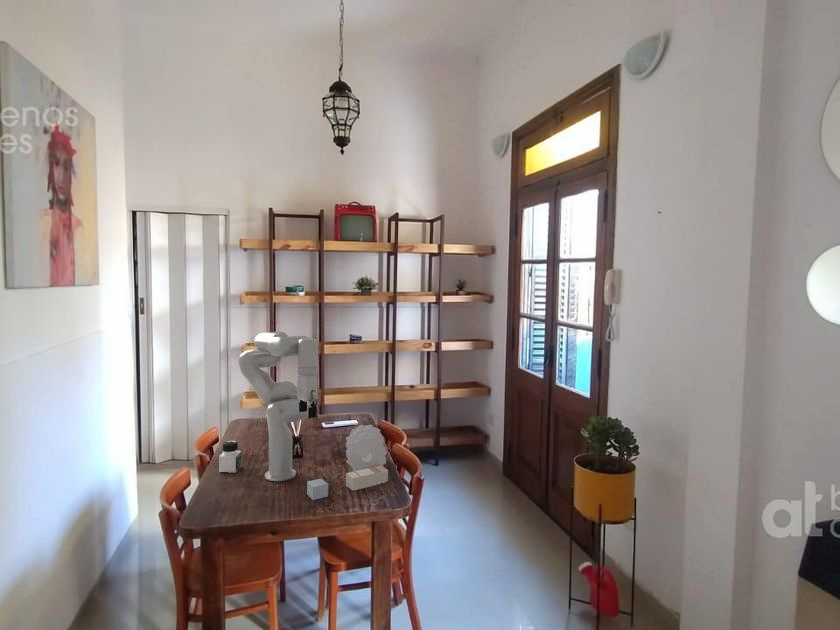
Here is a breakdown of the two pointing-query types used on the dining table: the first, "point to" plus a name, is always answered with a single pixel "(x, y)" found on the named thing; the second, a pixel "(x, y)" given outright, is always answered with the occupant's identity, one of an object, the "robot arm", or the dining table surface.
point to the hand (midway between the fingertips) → (307, 414)
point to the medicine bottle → (230, 457)
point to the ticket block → (366, 477)
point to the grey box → (317, 489)
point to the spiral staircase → (365, 448)
